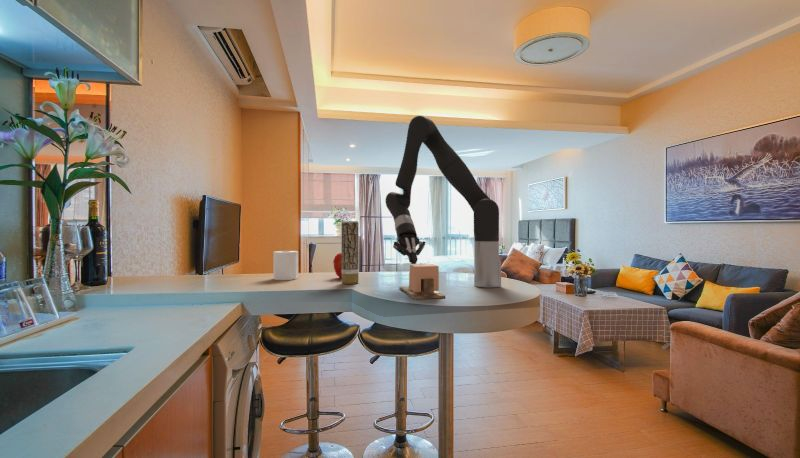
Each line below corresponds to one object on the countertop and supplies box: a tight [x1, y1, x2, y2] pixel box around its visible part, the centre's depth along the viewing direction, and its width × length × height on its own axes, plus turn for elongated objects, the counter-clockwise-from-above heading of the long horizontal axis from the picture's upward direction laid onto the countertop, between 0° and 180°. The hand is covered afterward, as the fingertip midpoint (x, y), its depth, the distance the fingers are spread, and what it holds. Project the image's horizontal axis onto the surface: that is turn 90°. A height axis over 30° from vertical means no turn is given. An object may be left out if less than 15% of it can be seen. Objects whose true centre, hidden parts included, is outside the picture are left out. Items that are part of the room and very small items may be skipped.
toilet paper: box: [272, 250, 299, 281], centre depth 155 cm, size 10×10×12 cm
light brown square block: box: [409, 263, 440, 292], centre depth 116 cm, size 8×6×8 cm
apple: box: [332, 252, 342, 279], centre depth 157 cm, size 9×9×12 cm
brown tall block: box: [341, 220, 360, 285], centre depth 142 cm, size 7×7×25 cm
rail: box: [399, 272, 446, 300], centre depth 120 cm, size 10×20×6 cm, turn 14°
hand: (414, 262), depth 127 cm, fingers closed
